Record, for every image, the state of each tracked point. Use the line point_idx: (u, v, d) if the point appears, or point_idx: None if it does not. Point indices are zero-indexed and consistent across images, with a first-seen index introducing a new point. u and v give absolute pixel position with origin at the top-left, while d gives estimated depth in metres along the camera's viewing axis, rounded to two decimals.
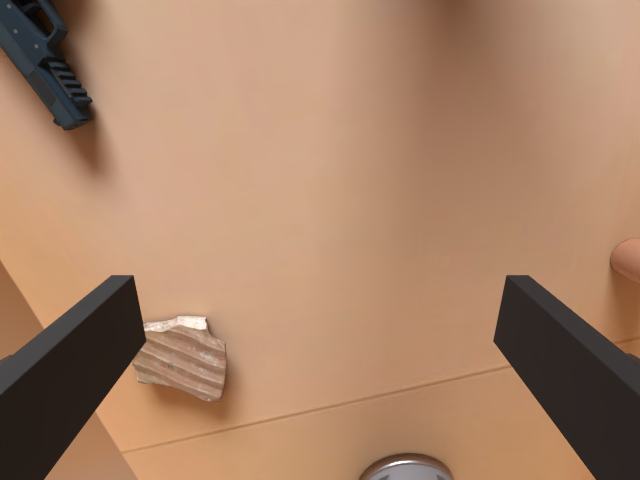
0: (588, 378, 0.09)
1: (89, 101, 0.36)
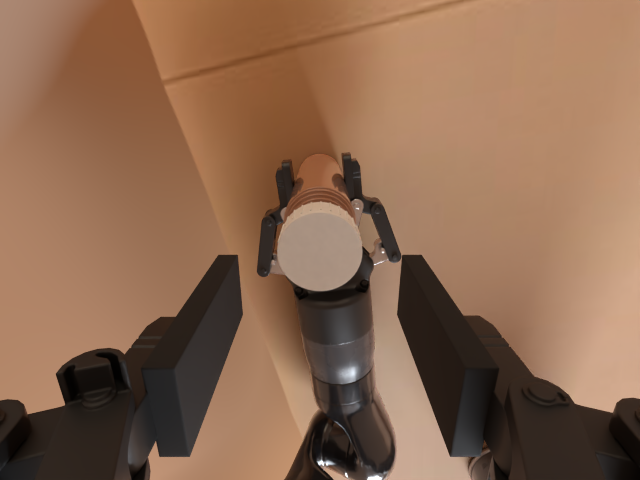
0: (432, 333, 0.10)
1: None
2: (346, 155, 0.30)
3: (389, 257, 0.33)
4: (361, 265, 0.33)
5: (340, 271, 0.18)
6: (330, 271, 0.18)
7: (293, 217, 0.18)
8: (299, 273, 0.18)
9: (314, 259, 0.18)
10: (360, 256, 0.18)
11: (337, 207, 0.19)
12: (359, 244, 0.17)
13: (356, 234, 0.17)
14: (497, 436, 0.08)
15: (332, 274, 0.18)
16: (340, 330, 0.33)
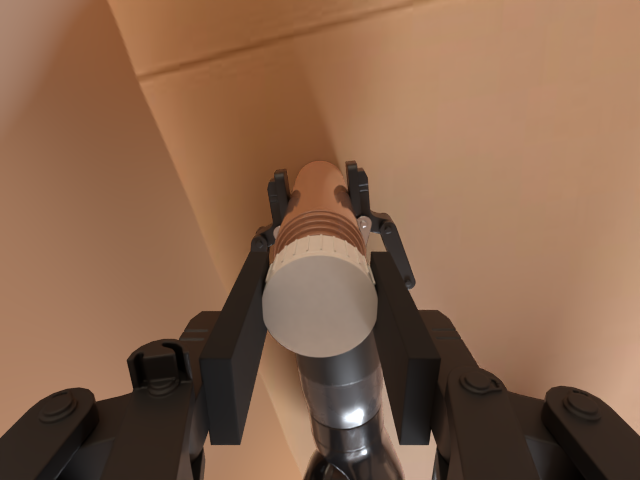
0: (388, 326, 0.11)
1: None
2: (351, 164, 0.25)
3: None
4: None
5: (348, 332, 0.13)
6: (334, 332, 0.13)
7: (283, 259, 0.13)
8: (292, 335, 0.13)
9: (312, 317, 0.13)
10: (376, 313, 0.13)
11: (343, 243, 0.14)
12: (374, 297, 0.13)
13: (370, 284, 0.12)
14: (439, 426, 0.08)
15: (337, 336, 0.13)
16: (344, 369, 0.28)
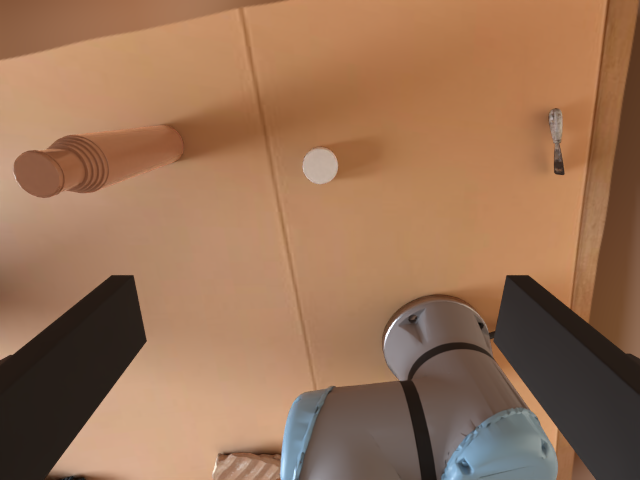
0: (588, 378, 0.09)
1: (71, 478, 0.63)
2: None
3: None
4: None
5: (331, 170, 0.43)
6: (327, 172, 0.43)
7: (304, 157, 0.43)
8: (316, 178, 0.43)
9: (319, 170, 0.43)
10: (336, 160, 0.43)
11: (320, 147, 0.44)
12: (333, 155, 0.42)
13: (330, 152, 0.42)
14: None
15: (329, 173, 0.43)
16: None
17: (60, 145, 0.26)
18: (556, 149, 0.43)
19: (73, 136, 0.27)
